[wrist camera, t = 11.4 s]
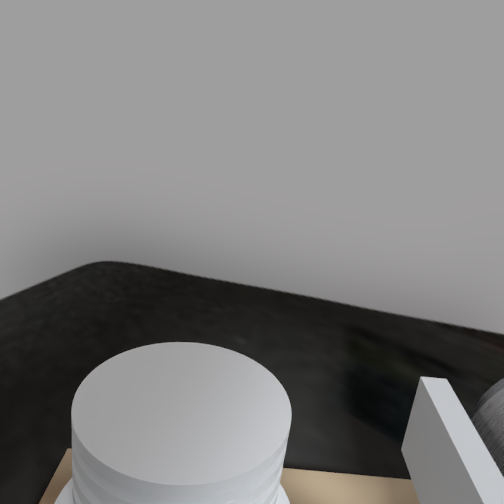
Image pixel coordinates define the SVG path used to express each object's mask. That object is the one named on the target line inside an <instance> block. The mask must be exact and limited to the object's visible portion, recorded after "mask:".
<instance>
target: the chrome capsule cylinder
mask: <svg viewBox="0 0 504 504" xmlns="http://www.w3.org/2000/svg"><path fill="white" fill-rule="evenodd" d="M469 419H470V420H471V422H472V424H473V425H474V427H475V429H476V431H477V432H478V434H479V436H480V438H481V439H482V441H483V443H484V444H485V446H486V448H487V450H488V451H489V453H490V455H491V457H492V458H493V460H494V462H495V463H496V465H497V467H498V469H499V470H500V472H501V474H502V476H503V477H504V378H503V379H502V380H500V381H498V382H497V383H496V384H495V385H493V386H492V387H491V388H490V389H489V390H488V391H487V392H486V393H485V394H484V395H483V396H482V397H481V398H480V400H479V401H478V402H477V404H476V406H475V407H474V409H473V411H472V413H471V416H470V418H469Z"/></svg>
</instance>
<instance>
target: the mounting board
mask: <svg viewBox="0 0 504 504" xmlns="http://www.w3.org/2000/svg"><path fill="white" fill-rule="evenodd" d="M71 478H72V449H69V448H68V449H67V451H66V453H65V455H64V457H63V459H62V461H61V463H60V464H59V466H58V468H57V470H56V472H55V474H54V476H53V478H52V480H51V481H50V483H49V485H48V487H47V489H46V491H45V493H44V495H43V497H42V498H41V500H40V502H39V504H54V503H55V501H56V499H57V498H58V496H59V494H60V493H61V491H62V490H63V488H64V487H65V485H66V484H67V483H68V482H69V480H70V479H71ZM280 484H281V486H282V487H283V489H284V491H285V493H286V495H287V497H288V499H289V502H290V504H420V502H419V499H418V496H417V493H416V490H415V488H414V485H413V482H412V480H408V479H397V478H386V477H376V476H365V475H354V474H343V473H332V472H321V471H310V470H299V469H288V468H283V469H282V474H281V479H280Z"/></svg>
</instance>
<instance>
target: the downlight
mask: <svg viewBox="0 0 504 504" xmlns="http://www.w3.org/2000/svg"><path fill="white" fill-rule="evenodd" d="M71 420H72V478H71V479H70V480H69V482H68V483H67V484H66V485H65V487H64V488H63V490H62V491H61V493H60V494H59V496H58V498H57V499H56V501H55V503H54V504H290V502H289V499H288V497H287V495H286V493H285V491H284V489H283V487H282V486H281V484H280V479H281V474H282V469H283V461H284V457H285V452H286V446H287V439H288V435H289V430H290V424H291V406H290V401H289V398H288V396H287V394H286V392H285V390H284V388H283V386H282V385H281V383H280V382H279V381H278V380H277V378H276V377H275V376H274V375H273V374H272V373H270V372H269V371H268V370H267V369H266V368H264V367H263V366H262V365H260V364H259V363H257V362H256V361H254V360H252V359H250V358H248V357H246V356H244V355H242V354H240V353H237V352H234V351H232V350H229V349H225V348H222V347H218V346H213V345H208V344H201V343H191V342H169V343H159V344H152V345H147V346H142V347H138V348H135V349H131V350H128V351H126V352H123V353H121V354H118V355H116V356H114V357H112V358H110V359H108V360H107V361H105V362H104V363H102V364H100V365H99V366H98V367H96V368H95V369H94V370H93V371H92V372H91V373H90V374H89V375H88V376H87V377H86V378H85V379H84V380H83V381H82V383H81V384H80V386H79V387H78V389H77V391H76V393H75V396H74V399H73V403H72V412H71Z"/></svg>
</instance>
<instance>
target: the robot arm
mask: <svg viewBox="0 0 504 504" xmlns="http://www.w3.org/2000/svg"><path fill="white" fill-rule="evenodd" d="M401 451H402V453H403V456H404V459H405V462H406V465H407V468H408V471H409V473H410V476H411V479H412V482H413V485H414V488H415V490H416V493H417V496H418V499H419V502H420V504H504V477H503V476H502V474H501V472H500V470H499V469H498V467H497V465H496V463H495V462H494V460H493V458H492V457H491V455H490V453H489V451H488V450H487V448H486V446H485V444H484V443H483V441H482V439H481V438H480V436H479V434H478V432H477V431H476V429H475V427H474V425H473V424H472V422H471V420H470V419H469V417H468V415H467V413H466V412H465V410H464V408H463V406H462V405H461V403H460V401H459V400H458V398H457V396H456V394H455V393H454V391H453V389H452V387H451V386H450V384H449V382H448V381H447V379H441V378H431V377H420V380H419V384H418V388H417V391H416V395H415V399H414V403H413V407H412V410H411V414H410V418H409V422H408V426H407V429H406V433H405V437H404V441H403V445H402V448H401Z"/></svg>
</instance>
